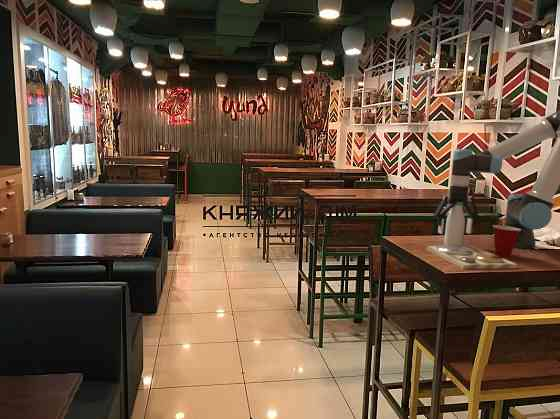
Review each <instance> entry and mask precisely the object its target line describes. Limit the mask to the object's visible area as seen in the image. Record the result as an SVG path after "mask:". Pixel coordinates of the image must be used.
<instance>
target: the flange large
mask: <svg viewBox="0 0 560 419" xmlns="http://www.w3.org/2000/svg"><path fill="white" fill-rule="evenodd" d="M435 246H436V250H438V251H440V252H443V253H446V254H452V255H471V254H472V252H473V251H472V250H471V249H469V248H466V247H462V246H456V245H444V244H439V245H435Z"/></svg>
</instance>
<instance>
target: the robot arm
mask: <svg viewBox="0 0 560 419" xmlns="http://www.w3.org/2000/svg"><path fill="white" fill-rule="evenodd" d="M555 138H556V140H555V142H554V144H553V146H552V148H551V150H550V152H549V154H548V155H547V158H546V160H545V162H544V164H543V166H542V168H541V170H540V172H539V175H538V176H537V178H536V179H535V182H534V183H533V186H532V189H531V190H529V191H527V192H525V194H509V196H508V198H507V201H506V203H507V205H506V214H505V220H504V226H508V227H514V228H518V229H521V231H520V232H519V234H518V236H517V238H516V242H515V245H514V248H518V249H534V248H536V239H535V233H534V231H535V230H541V229H544V228H545V227H547V226H548V225H549V224H550V222H551V220H552V218H553V216H552V214H553V213H552V209H553V208H554V207H553V206H554V205H555V202H554V199H553V198H554V196H555V194H556V192H557V191H558V189H559V187H560V109H559V110H557V111H555V112H554V113H552V114H550V115H548V116H546V117H544V118H542V120H541V122H540V123H538V124H535V125H533V126H531V127H529V128H527V129H525V130H523V131H521V132H519V133H517V134H515V135H513V136H511V137H509V138H506V139H504V140H503V141H501V142H498V143H496V144H495V145H492V146H491V147H488V148H487V149H483V151H480V152H477V153H474V152H473V150H472V149H463V148H461V149H460V148H456V149H455V150H454V151H453V157H452V165H451V175H450V176H451V178H450V186H449V195H448V196H447V195H442V198H441V201H440V203H439V204H438V206H437V208H436V210H435V212H434V213H433V217H435V218H437V221H436V225H437V226H438V227H437V233H438V234H440V235H443V233H444V224H445V222H444V221H445V219H444V217H445V216H446V215H447V214H449V213H448V212H450V211H451V209H452V208H453V207H454V206H455V205H456V203H458V202H463V205H462V206H463V207H462V209H463V211H464V212H465V213H466V215H467V216H468V218H466V220H467V222H466V223H467V224H466V229H465V233H466V234H469V235H471V234H472V230H473V227H474V224H475V223H474V222H475V220H476V219H477V218H478V219H479V218H480V217H479V212H478V210H477V207H476V203H475V197H474V196H471V195H468V194H469V188H470V187H469V185H470V181H471V180H470V179H471V173H483V174H484V173H485V174H499V173H500V172H501V171H502V167H503V161H504V160H506V159H508V158H510V157H513V156H515V155H516V154H519V153H521V152H523V151H525V150H526V149H529V148H531V147H533V146H535V145H538V144H539V143H541V142H544V141H546V140H548V139H555ZM467 202H468V204H467ZM457 206H458V205H457Z"/></svg>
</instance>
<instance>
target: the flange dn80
mask: <svg viewBox="0 0 560 419" xmlns="http://www.w3.org/2000/svg"><path fill="white" fill-rule="evenodd" d="M495 255H496V254H494V255H489V254H476V255H475V259H477V260H480V261H484V262H489V263H501V262H503V259H504V258H503V257H502V256H499V255H496V256H495Z"/></svg>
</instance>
